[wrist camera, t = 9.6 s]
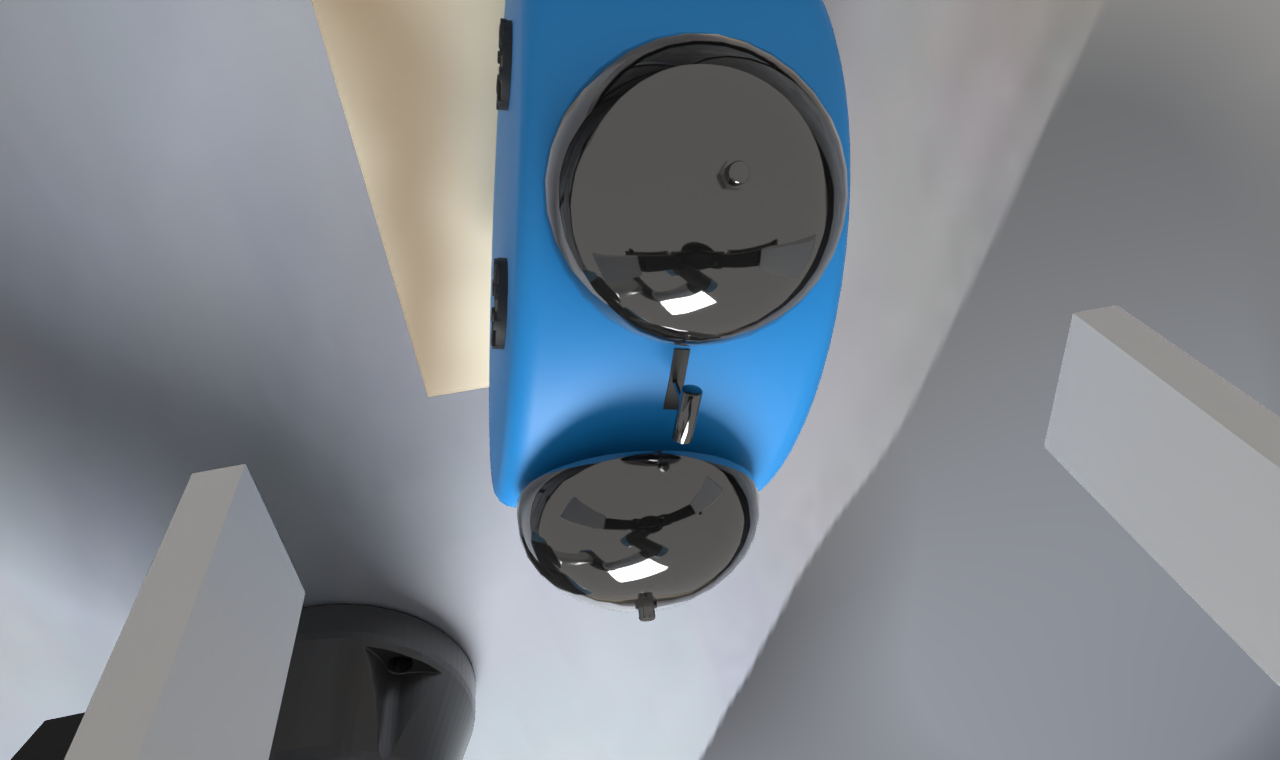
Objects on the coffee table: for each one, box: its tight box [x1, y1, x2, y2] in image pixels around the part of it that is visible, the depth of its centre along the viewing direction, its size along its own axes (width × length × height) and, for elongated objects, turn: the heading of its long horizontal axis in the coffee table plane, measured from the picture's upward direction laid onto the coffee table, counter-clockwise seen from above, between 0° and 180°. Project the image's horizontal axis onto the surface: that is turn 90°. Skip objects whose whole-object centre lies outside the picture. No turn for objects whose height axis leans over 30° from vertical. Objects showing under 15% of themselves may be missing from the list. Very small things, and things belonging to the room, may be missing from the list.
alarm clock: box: [489, 0, 850, 621], centre depth 19 cm, size 13×6×15 cm, turn 172°
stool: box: [311, 0, 506, 397], centre depth 29 cm, size 14×16×8 cm
